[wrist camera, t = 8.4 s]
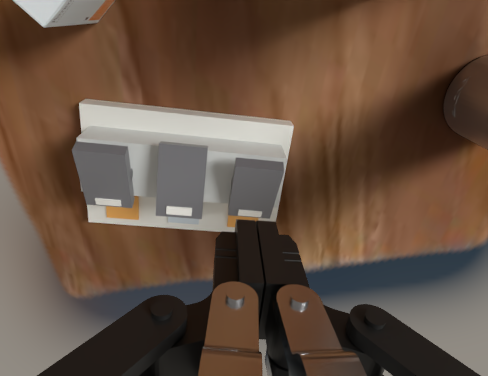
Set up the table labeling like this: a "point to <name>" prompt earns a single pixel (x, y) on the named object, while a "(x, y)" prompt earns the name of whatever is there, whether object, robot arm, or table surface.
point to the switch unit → (189, 132)
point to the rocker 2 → (254, 187)
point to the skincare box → (65, 11)
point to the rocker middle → (181, 180)
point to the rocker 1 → (104, 174)
